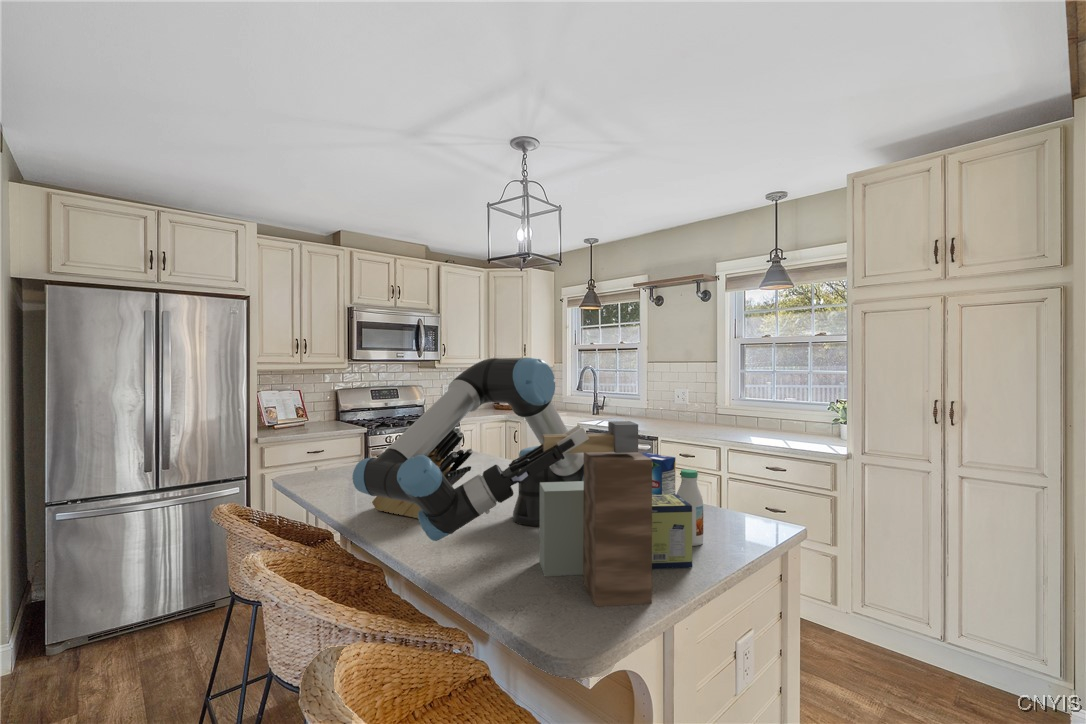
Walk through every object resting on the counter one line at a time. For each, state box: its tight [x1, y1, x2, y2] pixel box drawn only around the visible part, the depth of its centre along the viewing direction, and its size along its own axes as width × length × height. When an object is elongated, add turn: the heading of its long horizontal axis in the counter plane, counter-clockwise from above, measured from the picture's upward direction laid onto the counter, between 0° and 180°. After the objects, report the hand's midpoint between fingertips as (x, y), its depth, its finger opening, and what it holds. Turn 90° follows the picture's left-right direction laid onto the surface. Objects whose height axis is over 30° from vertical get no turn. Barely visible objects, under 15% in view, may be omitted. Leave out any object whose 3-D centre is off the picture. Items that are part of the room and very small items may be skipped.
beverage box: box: [640, 452, 677, 495], centre depth 155 cm, size 7×11×22 cm, turn 40°
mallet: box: [543, 420, 639, 453], centre depth 111 cm, size 6×20×6 cm, turn 98°
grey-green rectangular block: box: [538, 481, 584, 578], centre depth 125 cm, size 9×13×20 cm
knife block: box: [372, 426, 474, 519], centre depth 169 cm, size 11×35×31 cm, turn 61°
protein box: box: [652, 493, 693, 570], centre depth 130 cm, size 10×16×16 cm
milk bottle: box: [675, 468, 704, 547], centre depth 144 cm, size 8×8×20 cm
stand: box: [582, 451, 653, 608], centre depth 112 cm, size 12×12×30 cm
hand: (583, 431), depth 111 cm, fingers closed on mallet, 3 cm apart
